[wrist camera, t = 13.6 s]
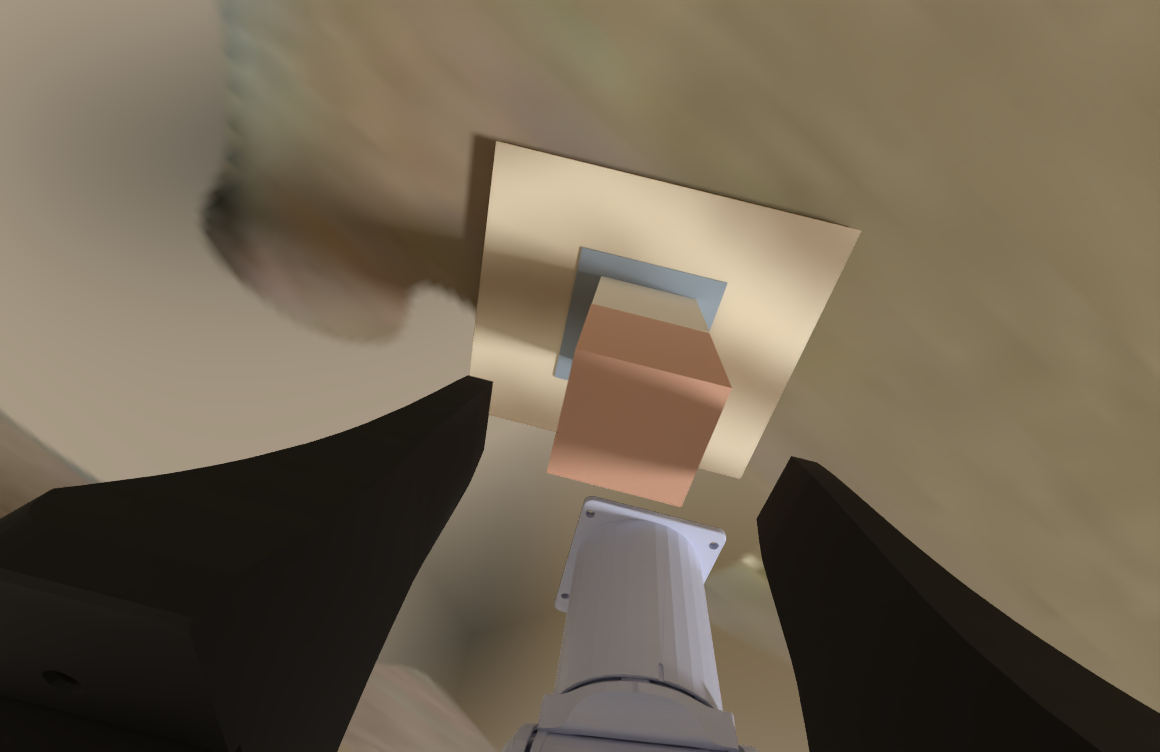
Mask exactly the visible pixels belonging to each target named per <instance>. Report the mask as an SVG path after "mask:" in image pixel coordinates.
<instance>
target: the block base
mask: <svg viewBox="0 0 1160 752" xmlns="http://www.w3.org/2000/svg"><path fill="white" fill-rule="evenodd" d="M592 304H596V305H600V306H604V307H608V308H612V309H616V310H620V311H624V312H628V313H632V314H636V315H640V316H644V317H648V318H652V319H656V320H660V321H664V322H668V323H672V324H676V325H680V326H684V327H688V328H692V329H696V330H700V331H704V332H708V333H710V331H709V329H708V327H707V324H706V322H705V319H704V317H703V315H702V312H701V310H700V307H699V305H698V303H697V300H696V299H693V298H689V297H685V296H681V295H677V294H673V293H668V292H664V291H660V290H656V289H652V288H648V287H644V286H640V285H636V284H632V283H628V282H624V281H620V280H616V279H612V278H608V277H604V276H601V278H600V281H599V284H598V287H597V290H596V293H595V296H594V299H593V302H592Z"/></svg>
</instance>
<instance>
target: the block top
mask: <svg viewBox="0 0 1160 752" xmlns="http://www.w3.org/2000/svg"><path fill="white" fill-rule="evenodd" d="M731 390H732V387H731V384H730V382H729V379H728V377H727V375H726V372H725V370H724V367H723V365H722V362H721V360H720V357H719V355H718V353H717V350H716V348H715V345H714V343H713V340H712V338H711V336H710V333H708V332H704V331H700V330H696V329H692V328H688V327H684V326H680V325H676V324H672V323H668V322H664V321H660V320H656V319H652V318H648V317H644V316H640V315H636V314H632V313H628V312H624V311H620V310H616V309H612V308H608V307H604V306H600V305H596V304H592V303H591V306H590V309H589V312H588V314H587V317H586V320H585V323H584V326H583V329H582V332H581V334H580V337H579V340H578V343H577V346H576V349H575V353H574V357H573V362H572V366H571V370H570V375H569V379H568V383H567V388H566V392H565V396H564V400H563V405H562V409H561V413H560V418H559V422H558V426H557V431H556V435H555V439H554V444H553V448H552V452H551V457H550V461H549V465H548V469H547V473H550V474H554V475H558V476H561V477H565V478H569V479H573V480H577V481H581V482H585V483H588V484H593V485H597V486H601V487H605V488H608V489H612V490H616V491H620V492H624V493H628V494H632V495H635V496H639V497H644V498H647V499H651V500H655V501H659V502H663V503H667V504H671V505H675V506H678V507H681V506H682V504H683V502H684V499H685V497H686V495H687V493H688V490H689V488H690V485H691V483H692V481H693V479H694V476H695V474H696V471H697V469H698V467H699V465H700V462H701V460H702V457H703V455H704V453H705V450H706V448H707V446H708V443H709V441H710V439H711V436H712V434H713V432H714V429H715V427H716V425H717V422H718V420H719V418H720V415H721V413H722V411H723V408H724V406H725V404H726V401H727V399H728V397H729V394H730V392H731Z"/></svg>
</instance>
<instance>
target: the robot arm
mask: <svg viewBox="0 0 1160 752" xmlns="http://www.w3.org/2000/svg"><path fill="white" fill-rule="evenodd" d="M492 388H493V381H489V380H485V379H481V378H477V377H473V376H469V375H468V376H466V377H464V378H462V379H459V380H457V381H455V382H454V383H452V384H450V385H448V386H446V387H444V388H442V389H440V390H438V391H436V392H434V393H432V394H430V395H428V396H426V397H424V398H422V399H420V400H418V401H416V402H414V403H412V404H410V405H407V406H405V407H403V408H401V409H398V410H396V411H394V412H391V413H389V414H387V415H384V416H382V417H380V418H377V419H375V420H373V421H370V422H368V423H365V424H363V425H360V426H358V427H355V428H352V429H350V430H347V431H344V432H341V433H338V434H335V435H332V436H329V437H325V438H323V439H319V440H316V441H313V442H310V443H307V444H303V445H298V446H295V447H291V448H287V449H283V450H279V451H275V452H271V453H268V454H264V455H260V456H256V457H252V458H248V459H243V460H238V461H234V462H229V463H224V464H219V465H214V466H209V467H203V468H197V469H192V470H186V471H182V472H175V473H169V474H163V475H157V476H149V477H142V478H135V479H127V480H120V481H112V482H104V483H96V484H89V485H81V486H73V487H64V488H55V489H52V490H50V491H48V492H46V493H45V494H43V495H41V496H40V497H38V498H36V499H34V500H33V501H31V502H29V503H27V504H26V505H24V506H22V507H20V508H19V509H17V510H15V511H13V512H12V513H10V514H8V515H6V516H5V517H3V518H1V519H0V752H337V751H338V748H339V746H340V744H341V741H342V739H343V736H344V734H345V732H346V729H347V727H348V725H349V723H350V720H351V718H352V716H353V713H354V711H355V709H356V706H357V704H358V702H359V699H360V697H361V695H362V692H363V690H364V688H365V686H366V683H367V681H368V679H369V676H370V674H371V672H372V670H373V667H374V665H375V663H376V661H377V659H378V656H379V654H380V651H381V649H382V647H383V645H384V643H385V641H386V638H387V636H388V634H389V632H390V629H391V627H392V625H393V623H394V621H395V619H396V616H397V614H398V612H399V610H400V608H401V606H402V604H403V602H404V600H405V597H406V595H407V593H408V591H409V589H410V587H411V585H412V582H413V580H414V579H415V577H416V575H417V573H418V571H419V569H420V568H421V566H422V563H423V562H424V560H425V558H426V557H427V555H428V554H429V552H430V550H431V549H432V547H433V545H434V543H435V542H436V540H437V538H438V537H439V535H440V533H441V531H442V530H443V528H444V527H445V525H446V523H447V522H448V520H449V518H450V516H451V515H452V513H453V511H454V510H455V508H456V506H457V505H458V503H459V501H460V499H461V498H462V496H463V494H464V492H465V491H466V489H467V487H468V485H469V483H470V481H471V479H472V477H473V474H474V472H475V470H476V467H477V465H478V463H479V460H480V458H481V455H482V453H483V451H484V445H485V438H486V430H487V423H488V416H489V409H490V402H491V395H492ZM588 511H593V513H589V512H588ZM757 526H758V535H759V542H760V549H761V555H762V560H763V564H764V568H765V571H766V575H767V578H768V582H769V586H770V589H771V593H772V596H773V599H774V603H775V606H776V610H777V613H778V616H779V620H780V623H781V626H782V630H783V633H784V637H785V640H786V643H787V647H788V650H789V654H790V657H791V661H792V665H793V669H794V673H795V677H796V681H797V686H798V690H799V696H800V702H801V707H802V712H803V717H804V723H805V728H806V733H807V739H808V746H809V752H1160V713H1158V712H1156V711H1155V710H1153V709H1151V708H1150V707H1148V706H1146V705H1144V704H1143V703H1141V702H1139V701H1138V700H1136V699H1134V698H1133V697H1131V696H1129V695H1128V694H1126V693H1125V692H1123V691H1121V690H1120V689H1118V688H1116V687H1115V686H1113V685H1112V684H1110V683H1108V682H1107V681H1105V680H1103V679H1102V678H1100V677H1099V676H1097V675H1095V674H1094V673H1092V672H1091V671H1089V670H1088V669H1086V668H1085V667H1083V666H1081V665H1080V664H1078V663H1077V662H1075V661H1074V660H1072V659H1071V658H1069V657H1068V656H1066V655H1065V654H1063V653H1062V652H1060V651H1058V650H1057V649H1055V648H1054V647H1052V646H1051V645H1049V644H1048V643H1046V642H1045V641H1043V640H1042V639H1040V638H1039V637H1037V636H1036V635H1034V634H1033V633H1031V632H1030V631H1028V630H1027V629H1025V628H1024V627H1023V626H1021V625H1020V624H1018V623H1017V622H1015V621H1014V620H1012V619H1011V618H1010V617H1008V616H1007V615H1006V614H1004V613H1003V612H1001V611H1000V610H999V609H997V608H996V607H995V606H993V605H992V604H990V603H989V602H988V601H986V600H985V599H984V598H982V597H981V596H979V595H978V594H977V593H975V592H974V591H972V590H971V589H970V588H969V587H967V586H966V585H965V584H963V583H962V582H961V581H959V580H958V579H957V578H955V577H954V576H953V575H952V574H950V573H949V572H948V571H947V570H945V569H944V568H943V567H942V566H940V565H939V564H938V563H937V562H935V561H934V560H933V559H932V558H931V557H929V556H928V555H927V554H926V553H924V552H923V551H922V550H921V549H919V548H918V547H917V546H916V545H915V544H913V543H912V542H911V541H910V540H909V539H907V538H906V537H905V536H904V535H903V534H902V533H900V532H899V531H898V530H897V529H896V528H895V527H893V526H892V525H891V524H890V523H889V522H888V521H886V520H885V519H884V518H883V517H882V516H881V515H880V514H878V513H877V512H876V511H875V510H874V509H873V508H872V507H870V506H869V505H868V504H867V503H866V502H865V501H864V500H862V499H861V498H860V497H859V496H858V495H857V494H856V493H854V492H853V491H852V490H851V489H850V488H849V487H847V486H846V485H845V484H844V483H843V482H842V481H840V480H839V479H838V478H837V477H836V476H834V475H833V474H832V473H831V472H829V471H828V470H827V469H825V468H824V467H823V466H821V465H820V464H818V463H817V462H813V461H809V460H805V459H801V458H797V457H793V456H791V458H790V459H789V461H788V463H787V465H786V467H785V469H784V470H783V472H782V474H781V476H780V478H779V479H778V481H777V483H776V485H775V487H774V488H773V490H772V492H771V494H770V496H769V497H768V499H767V501H766V503H765V505H764V506H763V508H762V510H761V512H760V514H759V516H758V517H757ZM725 541H726V535H725V532H724V531H723V530H722V529H720V528H716V527H712V526H708V525H704V524H700V523H697V522H693V521H689V520H685V519H681V518H677V517H673V516H669V515H665V514H661V513H657V512H653V511H650V510H646V509H641V508H638V507H634V506H630V505H626V504H622V503H618V502H614V501H610V500H606V499H603V498H599V497H595V496H590V497H587V498H586V499H585V500H584V504H583V507H582V510H581V514H580V517H579V520H578V524H577V527H576V531H575V534H574V537H573V541H572V544H571V548H570V551H569V555H568V558H567V561H566V565H565V568H564V572H563V575H562V579H561V582H560V585H559V589H558V592H557V596H556V599H555V607H556V609H558V610H560V611H563V612H567V616H566V622H565V628H564V634H563V641H562V647H561V654H560V659H559V666H558V671H557V678H556V683H555V690H554V694H545V695H544V696H543V701H542V706H541V712H540V717H539V723H538V724H536V723H523V724H522V725H521V726H520V727H519V728H518V730H517V731H516V733H515V734H514V735H513V737H512V738H510V740H509V741H508V742H507V743H506V744H505V746H504V748H503V749H502V751H501V752H758V750H757V749H756V748H754V747H752V746H744V745H738V740H737V735H736V729H735V723H734V717H733V713H731V712H729V711H723V709H722V702H721V696H720V689H719V682H718V676H717V669H716V663H715V657H714V650H713V643H712V636H711V630H710V623H709V616H708V610H707V603H706V597H705V590H704V582H705V580H706V578H707V577H708V575H709V573H710V571H711V569H712V567H713V565H714V563H715V561H716V559H717V557H718V555H719V553H720V550H721V549H722V547H723V545H724V543H725ZM712 542H715V544H710V543H712Z"/></svg>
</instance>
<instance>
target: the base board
mask: <svg viewBox="0 0 1160 752" xmlns="http://www.w3.org/2000/svg"><path fill="white" fill-rule="evenodd" d="M860 233H861V230H858V229H854V228H851V227H847V226H843V225H839V224H835V223H831V222H827V221H823V220H818V219H814V218H810V217H806V216H802V215H798V214H794V213H790V212H786V211H782V210H778V209H773V208H769V207H765V206H761V205H757V204H753V203H749V202H745V201H741V200H737V199H733V198H729V197H724V196H720V195H716V194H712V193H708V192H704V191H700V190H696V189H692V188H688V187H684V186H680V185H675V184H671V183H667V182H663V181H659V180H655V179H651V178H647V177H643V176H639V175H635V174H631V173H626V172H622V171H618V170H614V169H610V168H606V167H602V166H598V165H594V164H590V163H586V162H581V161H577V160H573V159H569V158H565V157H561V156H557V155H553V154H549V153H545V152H541V151H537V150H532V149H528V148H524V147H520V146H516V145H512V144H508V143H504V142H498V141H496V147H495V156H494V164H493V173H492V182H491V190H490V199H489V208H488V216H487V225H486V234H485V242H484V251H483V260H482V268H481V277H480V286H479V294H478V303H477V312H476V320H475V329H474V338H473V347H472V356H471V364H470V372H469V376H473V377H477V378H481V379H485V380H489V381H493V388H492V395H491V402H490V409H489V415H491V416H495V417H499V418H503V419H507V420H511V421H515V422H519V423H523V424H527V425H531V426H535V427H539V428H542V429H547V430H550V431H555V432H556V431H557V426H558V422H559V418H560V413H561V409H562V405H563V400H564V396H565V392H566V388H567V383H568V379H569V375H570V370H571V366H572V362H573V357H574V353H575V349H576V346H577V343H578V340H579V337H580V334H581V332H582V329H583V326H584V323H585V320H586V317H587V314H588V312H589V309H590V306H591V303H592V302H593V299H594V296H595V293H596V290H597V287H598V284H599V281H600V278H601V276H604V277H608V278H612V279H616V280H620V281H624V282H628V283H632V284H636V285H640V286H644V287H648V288H652V289H656V290H660V291H664V292H668V293H673V294H677V295H681V296H685V297H689V298H693V299H696V300H697V303H698V305H699V307H700V310H701V312H702V315H703V317H704V319H705V322H706V324H707V327H708V329H709V331H710V336H711V338H712V340H713V343H714V345H715V348H716V350H717V353H718V355H719V357H720V360H721V362H722V365H723V367H724V370H725V372H726V375H727V377H728V379H729V382H730V384H731V387H732V390H731V392H730V394H729V397H728V399H727V401H726V404H725V406H724V408H723V411H722V413H721V415H720V418H719V420H718V422H717V425H716V427H715V429H714V432H713V434H712V436H711V439H710V441H709V443H708V446H707V448H706V450H705V453H704V455H703V457H702V460H701V462H700V465H699V467H698V468H700V469H704V470H708V471H712V472H716V473H720V474H724V475H728V476H731V477H735V478H739V479H740V478H741V476H742V474H743V472H744V470H745V468H746V466H747V464H748V462H749V460H750V458H751V456H752V454H753V452H754V450H755V448H756V446H757V444H758V442H759V440H760V438H761V435H762V433H763V431H764V429H765V427H766V425H767V423H768V421H769V419H770V417H771V415H772V413H773V411H774V409H775V407H776V405H777V403H778V401H779V399H780V397H781V395H782V393H783V391H784V388H785V386H786V384H787V382H788V380H789V378H790V376H791V374H792V372H793V370H794V368H795V366H796V364H797V362H798V360H799V358H800V356H801V354H802V352H803V350H804V348H805V346H806V344H807V341H808V339H809V337H810V335H811V333H812V331H813V329H814V327H815V325H816V323H817V321H818V319H819V317H820V315H821V313H822V311H823V309H824V307H825V305H826V303H827V301H828V299H829V296H830V294H831V292H832V290H833V288H834V286H835V284H836V282H837V280H838V278H839V276H840V274H841V272H842V270H843V268H844V266H845V264H846V262H847V260H848V258H849V256H850V254H851V252H852V249H853V247H854V245H855V243H856V241H857V239H858V237H859V235H860Z"/></svg>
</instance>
